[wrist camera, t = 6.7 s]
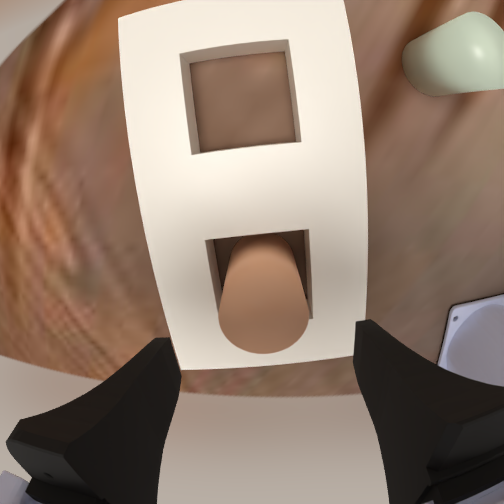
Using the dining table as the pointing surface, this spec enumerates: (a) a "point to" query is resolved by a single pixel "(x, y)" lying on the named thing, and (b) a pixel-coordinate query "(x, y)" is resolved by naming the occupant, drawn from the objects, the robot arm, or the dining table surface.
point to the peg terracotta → (263, 296)
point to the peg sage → (457, 57)
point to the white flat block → (248, 168)
